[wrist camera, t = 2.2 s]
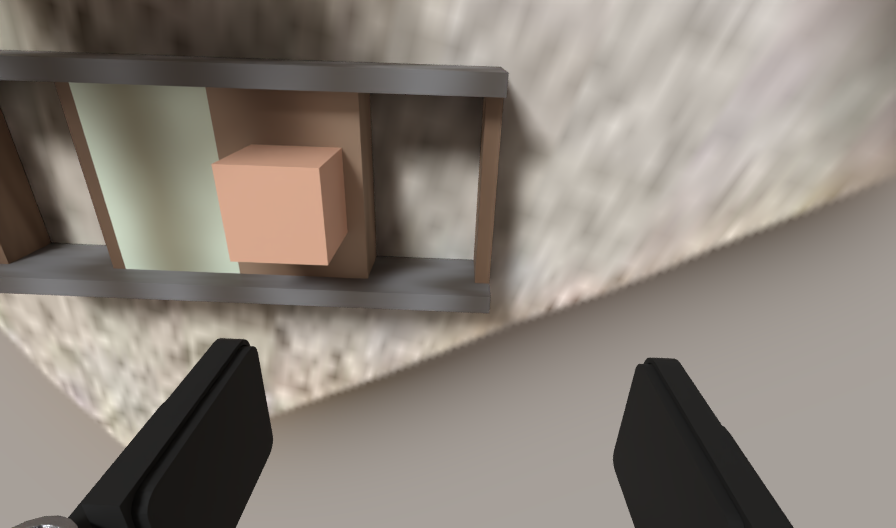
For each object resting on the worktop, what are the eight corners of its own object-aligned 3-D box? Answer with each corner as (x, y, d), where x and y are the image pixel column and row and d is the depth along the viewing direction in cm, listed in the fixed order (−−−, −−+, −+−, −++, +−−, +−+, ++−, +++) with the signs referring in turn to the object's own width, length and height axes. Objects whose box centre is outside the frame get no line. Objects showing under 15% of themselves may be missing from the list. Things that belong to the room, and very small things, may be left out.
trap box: (501, 66, 24) (508, 72, 20) (485, 274, 29) (489, 313, 25) (-37, 48, 24) (-138, 50, 20) (44, 257, 29) (-23, 291, 25)
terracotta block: (341, 147, 23) (318, 168, 19) (347, 232, 25) (327, 265, 21) (250, 144, 23) (211, 163, 19) (264, 229, 25) (230, 261, 21)
